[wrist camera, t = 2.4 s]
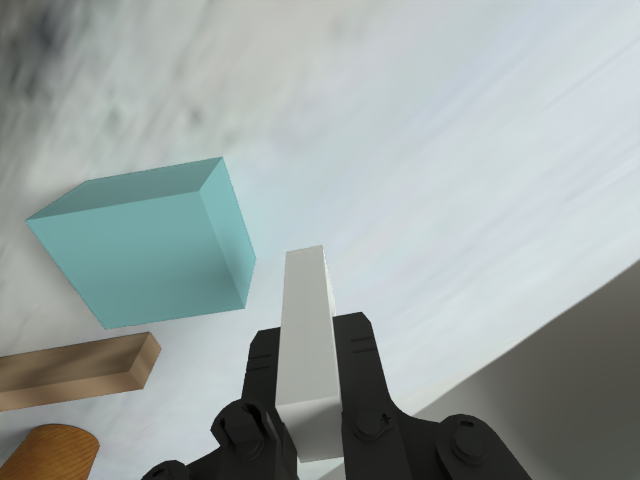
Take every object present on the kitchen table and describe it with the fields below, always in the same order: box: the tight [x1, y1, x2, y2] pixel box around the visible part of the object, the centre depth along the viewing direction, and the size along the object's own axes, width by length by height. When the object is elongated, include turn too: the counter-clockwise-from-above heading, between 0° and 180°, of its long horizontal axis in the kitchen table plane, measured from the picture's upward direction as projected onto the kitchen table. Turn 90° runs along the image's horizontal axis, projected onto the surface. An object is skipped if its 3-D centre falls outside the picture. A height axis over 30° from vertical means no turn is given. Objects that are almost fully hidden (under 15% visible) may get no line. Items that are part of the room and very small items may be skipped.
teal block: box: [25, 157, 256, 329], centre depth 18 cm, size 8×7×5 cm
